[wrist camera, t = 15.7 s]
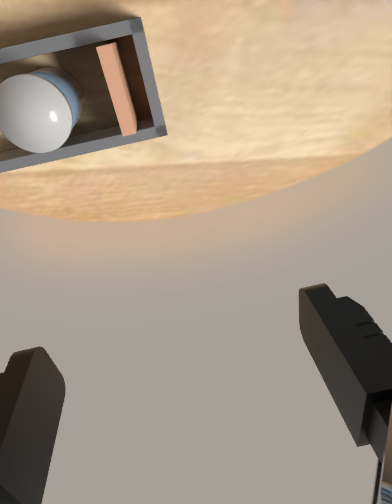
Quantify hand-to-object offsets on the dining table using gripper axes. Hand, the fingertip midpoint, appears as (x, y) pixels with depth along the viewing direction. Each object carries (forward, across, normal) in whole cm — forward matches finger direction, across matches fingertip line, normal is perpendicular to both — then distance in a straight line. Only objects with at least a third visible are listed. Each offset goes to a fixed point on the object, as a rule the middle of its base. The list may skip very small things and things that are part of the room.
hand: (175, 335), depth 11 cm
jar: (+30, +9, -4) cm, 32 cm away
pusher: (+30, +2, -4) cm, 30 cm away
